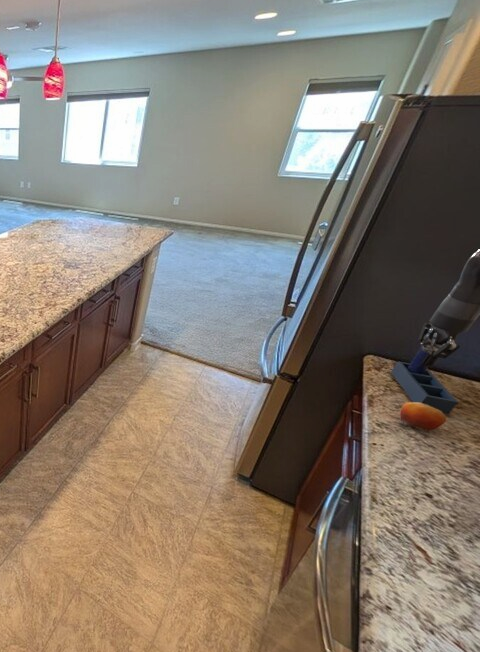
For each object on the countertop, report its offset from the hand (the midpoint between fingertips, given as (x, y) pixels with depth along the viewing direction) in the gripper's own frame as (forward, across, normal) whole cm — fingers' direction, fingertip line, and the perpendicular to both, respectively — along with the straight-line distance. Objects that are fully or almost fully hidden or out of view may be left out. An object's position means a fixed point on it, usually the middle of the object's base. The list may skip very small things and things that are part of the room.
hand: (422, 360), depth 118 cm
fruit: (+8, -24, +7) cm, 26 cm away
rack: (+8, -6, 0) cm, 10 cm away
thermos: (+7, 0, 0) cm, 7 cm away
